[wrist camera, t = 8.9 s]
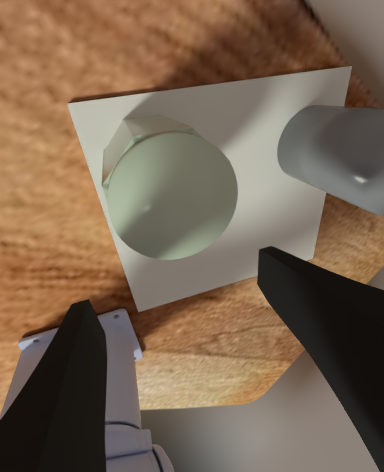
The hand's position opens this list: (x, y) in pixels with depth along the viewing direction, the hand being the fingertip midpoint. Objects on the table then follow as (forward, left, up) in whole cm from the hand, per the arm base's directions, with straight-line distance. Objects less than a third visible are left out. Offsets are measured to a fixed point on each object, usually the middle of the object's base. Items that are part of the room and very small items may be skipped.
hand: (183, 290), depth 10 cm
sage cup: (+1, +3, -10) cm, 10 cm away
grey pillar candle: (+14, +2, -10) cm, 17 cm away
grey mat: (+7, -2, -10) cm, 12 cm away
